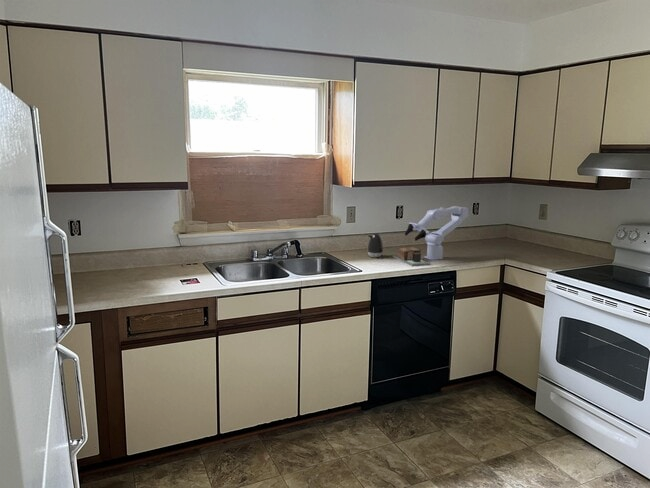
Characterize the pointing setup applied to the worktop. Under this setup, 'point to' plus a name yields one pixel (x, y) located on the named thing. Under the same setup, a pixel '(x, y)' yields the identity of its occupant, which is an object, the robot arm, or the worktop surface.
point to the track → (412, 262)
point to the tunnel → (403, 251)
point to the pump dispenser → (375, 246)
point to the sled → (415, 257)
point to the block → (409, 254)
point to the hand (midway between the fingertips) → (410, 237)
